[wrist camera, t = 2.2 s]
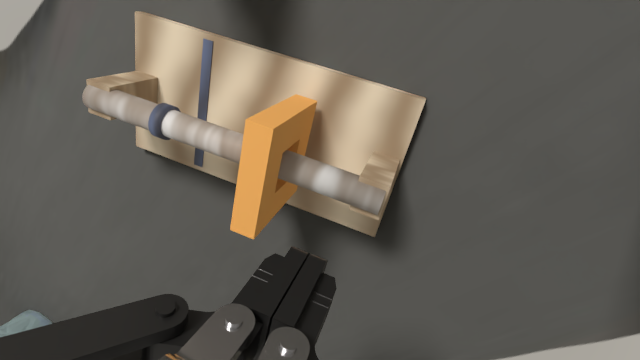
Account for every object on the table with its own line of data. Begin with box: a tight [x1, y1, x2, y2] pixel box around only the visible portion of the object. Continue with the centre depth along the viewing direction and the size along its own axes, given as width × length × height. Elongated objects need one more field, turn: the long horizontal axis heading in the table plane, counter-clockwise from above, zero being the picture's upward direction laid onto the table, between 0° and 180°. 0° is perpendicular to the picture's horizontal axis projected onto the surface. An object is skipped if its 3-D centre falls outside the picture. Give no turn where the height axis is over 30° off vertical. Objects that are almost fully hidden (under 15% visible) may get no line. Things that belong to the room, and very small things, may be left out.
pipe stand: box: [83, 11, 426, 237], centre depth 32 cm, size 28×14×8 cm, turn 76°
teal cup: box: [0, 310, 52, 337], centre depth 61 cm, size 10×10×12 cm
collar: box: [230, 94, 317, 239], centre depth 29 cm, size 2×9×9 cm, turn 166°
